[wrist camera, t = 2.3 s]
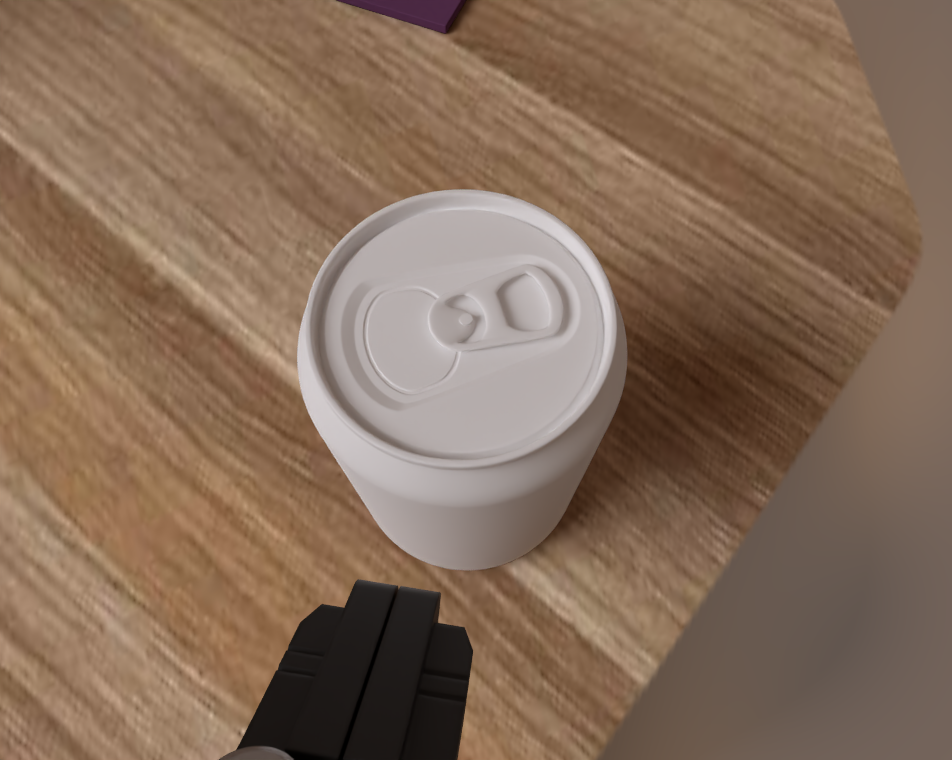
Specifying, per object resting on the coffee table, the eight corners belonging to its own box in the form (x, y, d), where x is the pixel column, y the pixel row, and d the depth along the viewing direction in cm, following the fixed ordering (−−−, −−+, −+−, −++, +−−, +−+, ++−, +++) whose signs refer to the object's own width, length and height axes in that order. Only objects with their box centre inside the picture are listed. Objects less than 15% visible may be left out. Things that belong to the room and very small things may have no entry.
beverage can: (341, 399, 28) (253, 217, 17) (534, 346, 29) (568, 140, 18) (391, 602, 25) (323, 539, 14) (605, 535, 26) (698, 427, 15)
